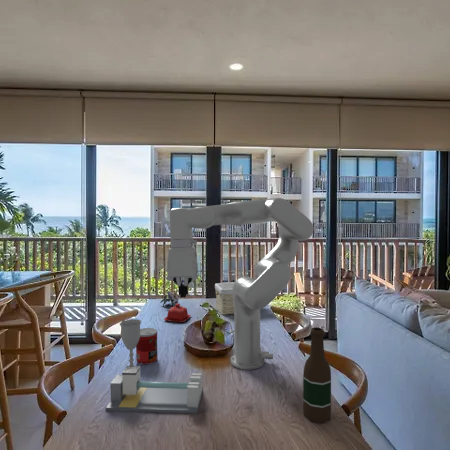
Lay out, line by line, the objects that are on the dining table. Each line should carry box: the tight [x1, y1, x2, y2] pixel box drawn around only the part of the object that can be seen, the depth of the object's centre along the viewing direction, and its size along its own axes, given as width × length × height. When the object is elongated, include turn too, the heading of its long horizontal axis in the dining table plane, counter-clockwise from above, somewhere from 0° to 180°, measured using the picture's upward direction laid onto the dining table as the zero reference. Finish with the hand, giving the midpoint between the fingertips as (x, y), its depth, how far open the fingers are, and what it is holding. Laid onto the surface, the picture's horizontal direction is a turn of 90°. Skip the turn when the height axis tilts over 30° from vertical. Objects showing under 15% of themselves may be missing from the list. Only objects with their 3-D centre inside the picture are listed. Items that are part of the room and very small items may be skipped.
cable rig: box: [105, 372, 204, 414], centre depth 99 cm, size 26×12×6 cm, turn 86°
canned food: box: [135, 327, 158, 365], centre depth 125 cm, size 8×8×11 cm
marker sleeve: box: [121, 365, 141, 395], centre depth 99 cm, size 4×4×6 cm
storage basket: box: [214, 281, 236, 316], centre depth 187 cm, size 24×16×15 cm
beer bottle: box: [302, 326, 332, 424], centre depth 90 cm, size 8×8×24 cm
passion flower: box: [159, 289, 180, 307], centre depth 196 cm, size 11×11×12 cm
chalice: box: [119, 319, 142, 366], centre depth 114 cm, size 7×7×18 cm
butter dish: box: [163, 302, 192, 323], centre depth 172 cm, size 12×12×8 cm
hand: (183, 296), depth 114 cm, fingers closed
